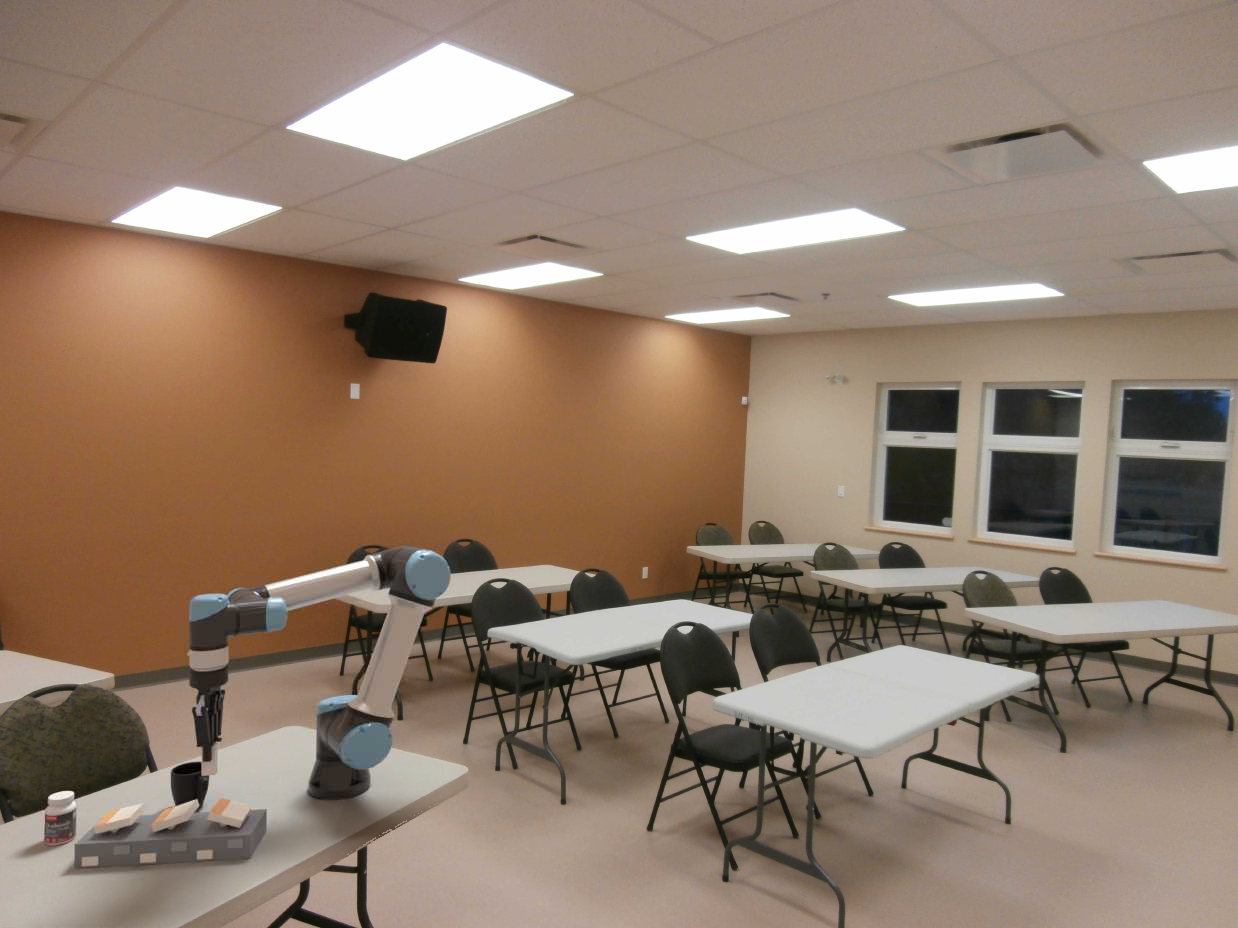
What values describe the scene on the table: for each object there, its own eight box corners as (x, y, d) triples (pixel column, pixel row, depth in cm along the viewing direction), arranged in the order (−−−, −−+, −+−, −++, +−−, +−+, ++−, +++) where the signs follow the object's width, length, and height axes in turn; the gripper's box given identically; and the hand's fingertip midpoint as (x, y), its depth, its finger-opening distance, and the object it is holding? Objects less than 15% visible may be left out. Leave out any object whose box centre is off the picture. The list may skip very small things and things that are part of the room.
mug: (185, 823, 181) (186, 782, 180) (164, 807, 188) (164, 768, 188) (222, 811, 187) (222, 771, 187) (200, 796, 195) (200, 758, 194)
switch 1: (146, 813, 172) (143, 802, 171) (132, 828, 165) (129, 816, 164) (112, 821, 170) (109, 810, 170) (96, 837, 164) (93, 825, 163)
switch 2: (200, 808, 173) (196, 798, 173) (188, 823, 166) (184, 812, 166) (168, 820, 172) (164, 809, 172) (154, 835, 165) (150, 824, 165)
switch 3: (248, 816, 175) (252, 805, 175) (238, 831, 168) (242, 819, 168) (216, 807, 174) (220, 797, 174) (205, 822, 167) (209, 811, 167)
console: (266, 830, 178) (266, 806, 178) (250, 858, 166) (250, 832, 166) (102, 839, 172) (103, 814, 172) (73, 869, 160) (74, 842, 160)
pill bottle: (41, 848, 168) (42, 802, 168) (46, 836, 173) (47, 792, 173) (74, 842, 171) (74, 797, 171) (78, 831, 176) (78, 787, 176)
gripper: (201, 658, 176) (202, 762, 176) (178, 675, 163) (178, 787, 163) (237, 657, 177) (237, 760, 177) (216, 674, 164) (217, 785, 165)
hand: (209, 773), depth 170 cm, fingers closed
